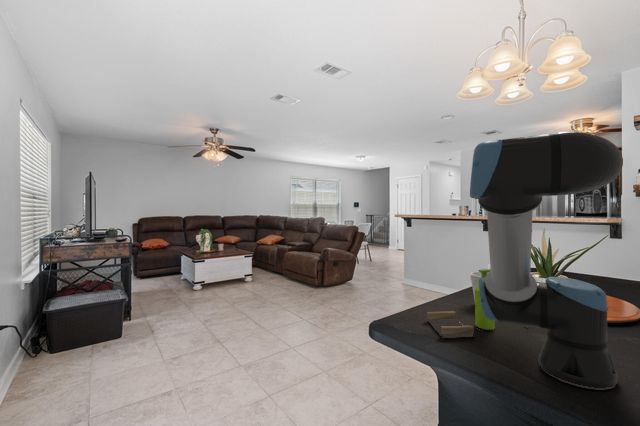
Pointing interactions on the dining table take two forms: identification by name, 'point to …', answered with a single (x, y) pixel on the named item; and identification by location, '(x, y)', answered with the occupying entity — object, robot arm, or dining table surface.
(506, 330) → the dining table surface
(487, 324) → the soap dispenser
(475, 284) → the foam cup
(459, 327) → the cradle
